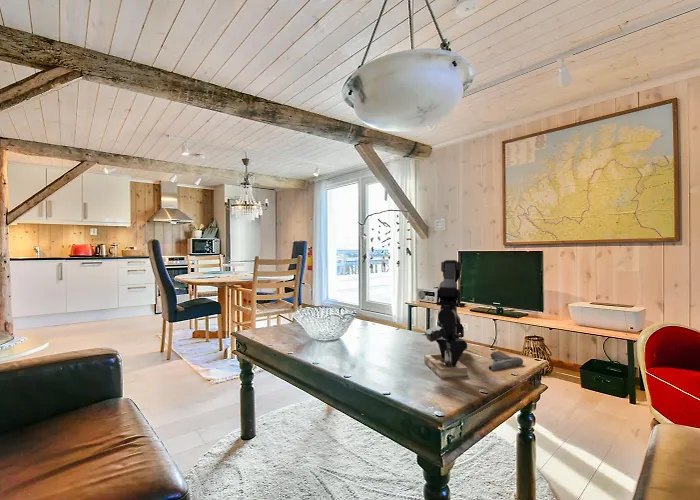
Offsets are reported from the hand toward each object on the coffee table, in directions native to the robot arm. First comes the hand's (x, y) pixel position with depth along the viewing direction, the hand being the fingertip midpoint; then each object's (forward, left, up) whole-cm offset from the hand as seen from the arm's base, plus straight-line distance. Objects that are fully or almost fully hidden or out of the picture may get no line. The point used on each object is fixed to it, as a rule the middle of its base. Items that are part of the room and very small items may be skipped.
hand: (448, 362), depth 132 cm
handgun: (-6, +23, -4) cm, 24 cm away
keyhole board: (-3, 0, -4) cm, 5 cm away
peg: (0, 0, -3) cm, 3 cm away
